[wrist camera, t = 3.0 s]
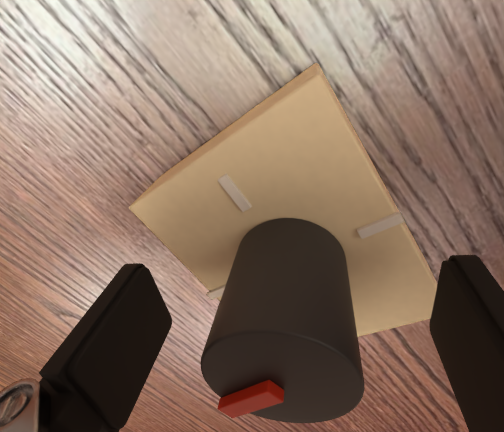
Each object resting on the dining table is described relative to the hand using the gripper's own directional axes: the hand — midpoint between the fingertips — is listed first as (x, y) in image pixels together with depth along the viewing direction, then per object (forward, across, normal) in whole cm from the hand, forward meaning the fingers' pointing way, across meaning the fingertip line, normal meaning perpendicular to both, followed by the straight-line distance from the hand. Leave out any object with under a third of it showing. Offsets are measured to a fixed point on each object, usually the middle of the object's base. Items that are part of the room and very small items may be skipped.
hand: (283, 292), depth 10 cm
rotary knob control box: (+5, 0, 0) cm, 5 cm away
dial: (+2, 0, 0) cm, 2 cm away
